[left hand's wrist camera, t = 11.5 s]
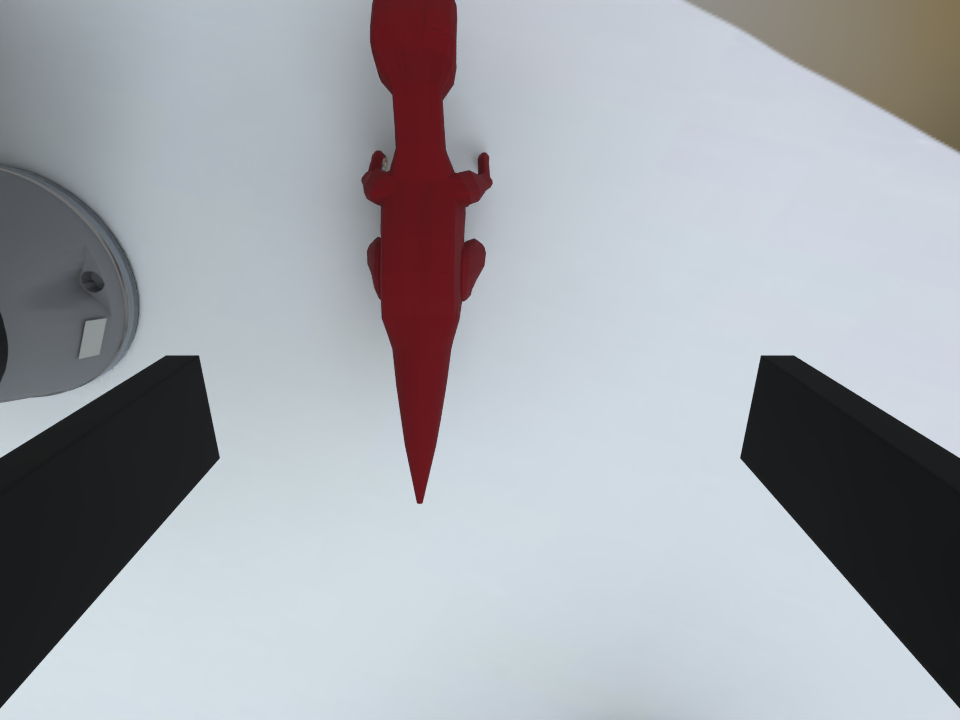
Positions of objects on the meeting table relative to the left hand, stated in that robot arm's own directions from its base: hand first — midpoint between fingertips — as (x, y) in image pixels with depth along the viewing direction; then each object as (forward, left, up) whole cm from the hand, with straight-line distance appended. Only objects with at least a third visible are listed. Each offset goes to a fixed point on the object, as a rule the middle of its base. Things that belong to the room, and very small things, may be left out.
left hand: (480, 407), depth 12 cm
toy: (-3, -1, -24) cm, 24 cm away
